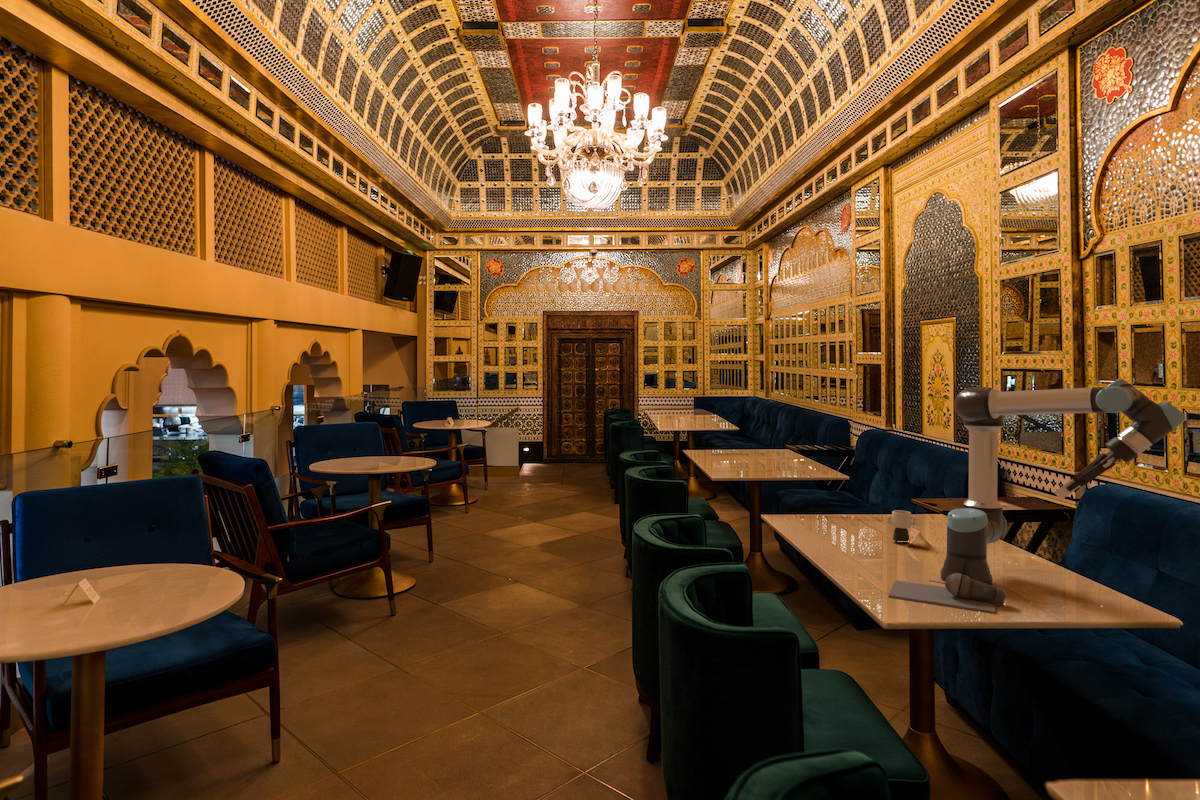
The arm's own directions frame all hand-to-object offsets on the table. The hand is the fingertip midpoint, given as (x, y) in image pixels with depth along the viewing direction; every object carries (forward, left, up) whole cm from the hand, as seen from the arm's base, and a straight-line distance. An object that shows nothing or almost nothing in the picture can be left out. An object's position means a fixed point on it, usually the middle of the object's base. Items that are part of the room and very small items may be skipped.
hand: (1057, 496), depth 199 cm
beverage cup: (+4, -24, -29) cm, 38 cm away
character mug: (-69, +1, -31) cm, 76 cm away
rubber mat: (-8, -36, -31) cm, 48 cm away
